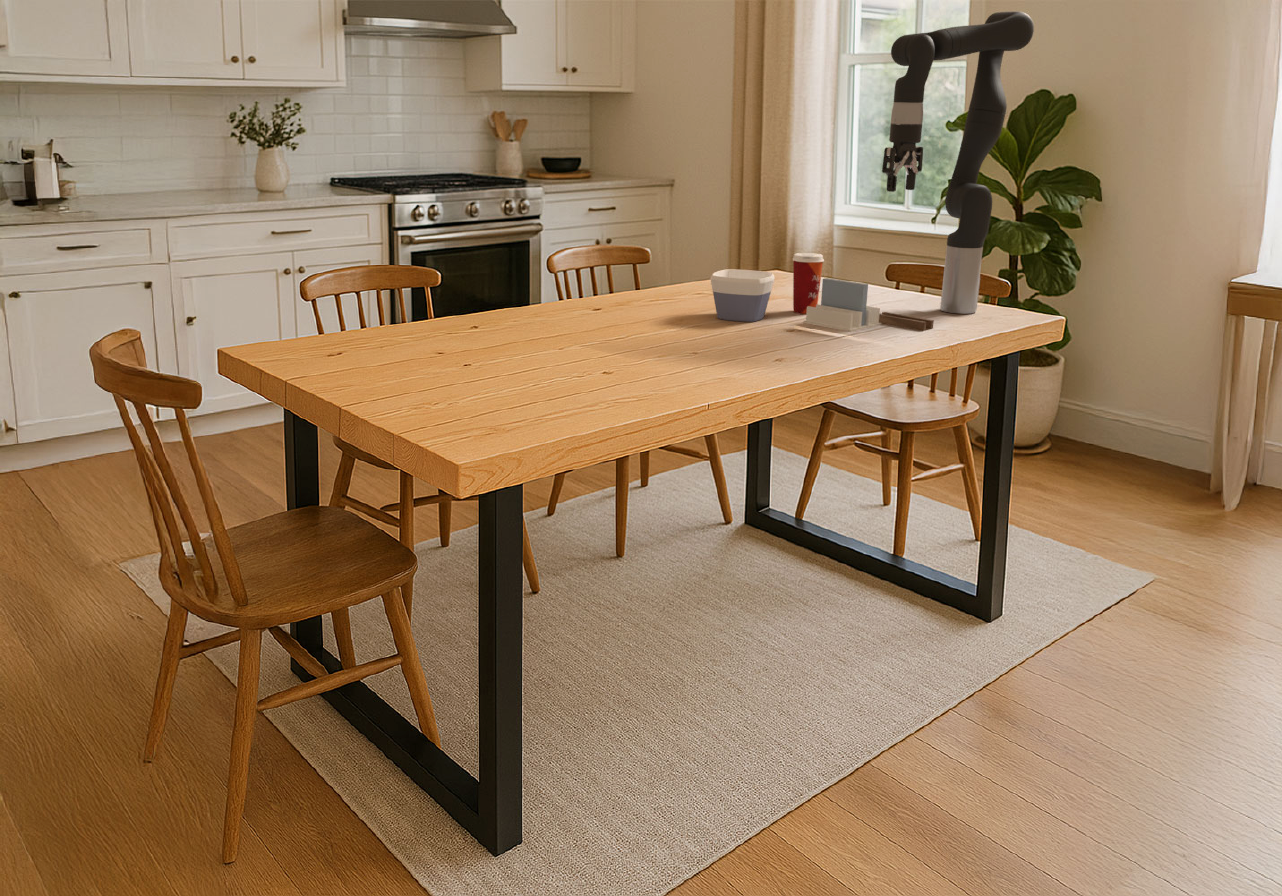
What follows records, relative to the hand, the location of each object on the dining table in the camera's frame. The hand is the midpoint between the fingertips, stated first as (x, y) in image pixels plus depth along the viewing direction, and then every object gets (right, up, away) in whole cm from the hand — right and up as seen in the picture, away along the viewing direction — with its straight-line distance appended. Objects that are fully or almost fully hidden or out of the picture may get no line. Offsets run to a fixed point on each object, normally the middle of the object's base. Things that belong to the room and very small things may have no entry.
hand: (900, 190), depth 269 cm
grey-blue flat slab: (-15, -33, -1) cm, 36 cm away
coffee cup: (-21, -28, +17) cm, 39 cm away
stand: (0, -34, -2) cm, 34 cm away
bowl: (-39, -31, +8) cm, 50 cm away
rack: (-15, -34, -1) cm, 37 cm away
